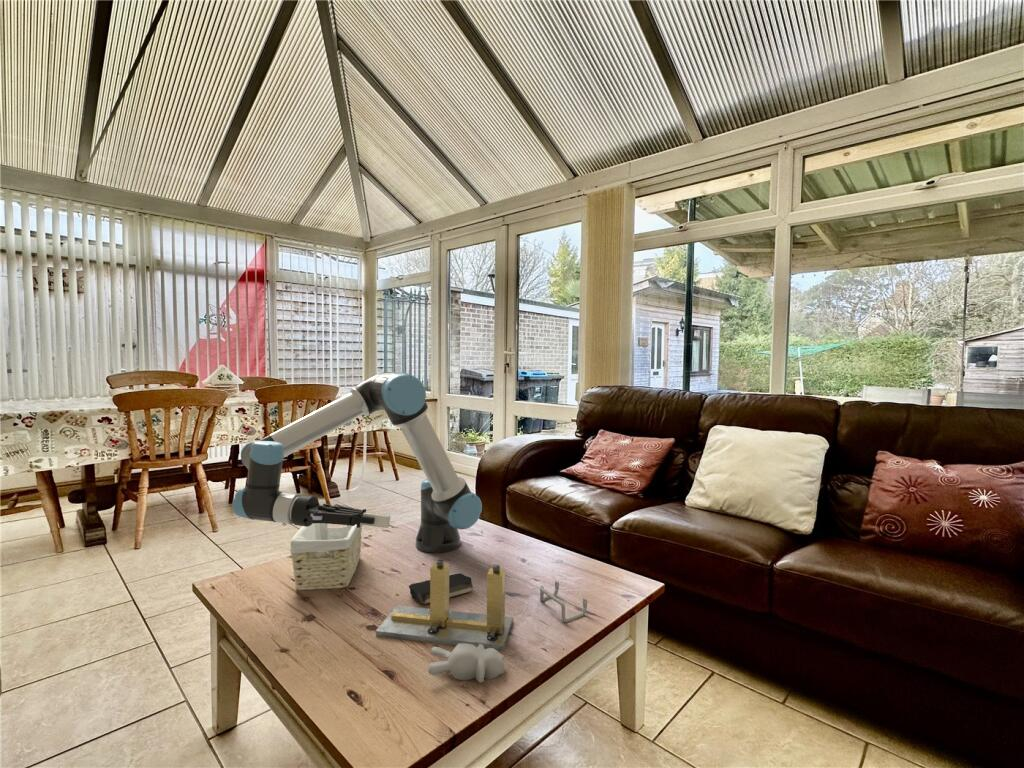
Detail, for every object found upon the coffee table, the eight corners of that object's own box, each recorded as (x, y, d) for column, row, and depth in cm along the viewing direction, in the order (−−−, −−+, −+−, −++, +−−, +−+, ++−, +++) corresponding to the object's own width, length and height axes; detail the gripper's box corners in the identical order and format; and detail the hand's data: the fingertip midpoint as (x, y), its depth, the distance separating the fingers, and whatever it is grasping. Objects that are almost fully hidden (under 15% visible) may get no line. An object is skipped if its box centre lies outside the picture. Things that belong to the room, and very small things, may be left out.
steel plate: (396, 609, 125) (396, 604, 125) (512, 622, 119) (512, 617, 119) (375, 635, 113) (375, 630, 113) (503, 651, 108) (503, 645, 108)
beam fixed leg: (395, 613, 120) (395, 554, 120) (504, 625, 116) (505, 563, 115) (385, 627, 114) (385, 564, 114) (499, 640, 110) (500, 574, 109)
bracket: (586, 617, 123) (588, 597, 123) (562, 624, 119) (563, 604, 119) (555, 596, 134) (556, 577, 134) (531, 602, 129) (533, 583, 129)
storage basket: (349, 591, 135) (349, 538, 134) (287, 594, 133) (287, 540, 132) (364, 556, 158) (364, 511, 158) (311, 558, 156) (311, 512, 155)
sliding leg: (435, 616, 119) (435, 557, 118) (449, 618, 118) (449, 558, 117) (426, 630, 113) (426, 568, 112) (441, 632, 112) (441, 569, 111)
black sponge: (419, 609, 126) (419, 595, 126) (407, 595, 133) (407, 582, 133) (475, 594, 134) (475, 580, 134) (461, 581, 142) (461, 569, 141)
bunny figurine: (506, 667, 96) (429, 661, 94) (503, 692, 96) (426, 687, 95) (503, 639, 105) (432, 634, 104) (500, 662, 105) (430, 657, 104)
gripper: (308, 519, 129) (395, 531, 127) (281, 530, 116) (377, 543, 114) (312, 490, 129) (399, 502, 127) (285, 498, 116) (381, 511, 114)
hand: (388, 521), depth 120 cm, fingers closed
